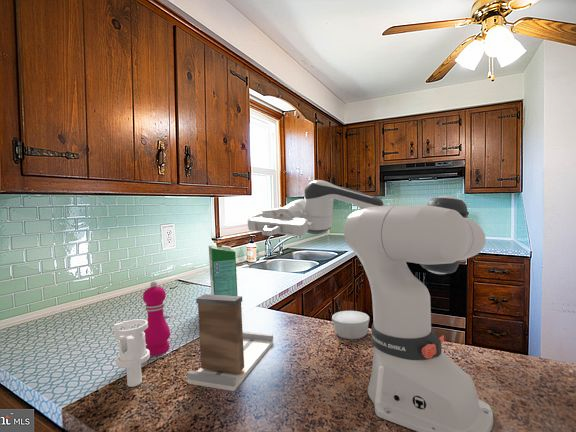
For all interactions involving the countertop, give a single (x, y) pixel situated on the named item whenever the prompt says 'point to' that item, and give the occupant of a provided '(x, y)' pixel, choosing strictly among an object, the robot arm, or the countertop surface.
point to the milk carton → (223, 271)
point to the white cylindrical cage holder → (132, 349)
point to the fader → (221, 333)
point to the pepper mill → (156, 320)
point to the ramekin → (351, 324)
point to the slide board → (253, 352)
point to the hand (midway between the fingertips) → (266, 233)
